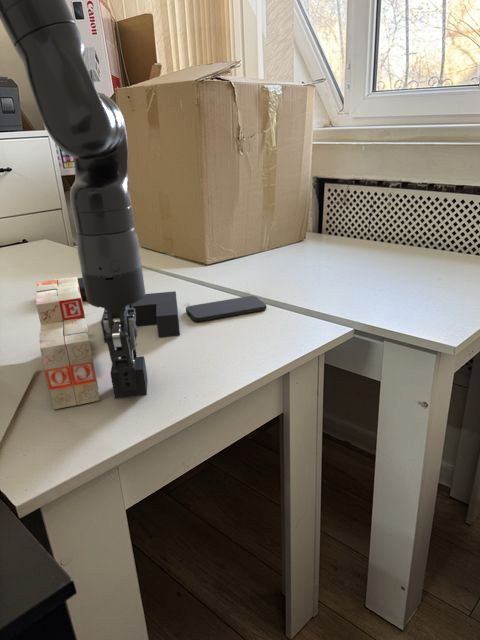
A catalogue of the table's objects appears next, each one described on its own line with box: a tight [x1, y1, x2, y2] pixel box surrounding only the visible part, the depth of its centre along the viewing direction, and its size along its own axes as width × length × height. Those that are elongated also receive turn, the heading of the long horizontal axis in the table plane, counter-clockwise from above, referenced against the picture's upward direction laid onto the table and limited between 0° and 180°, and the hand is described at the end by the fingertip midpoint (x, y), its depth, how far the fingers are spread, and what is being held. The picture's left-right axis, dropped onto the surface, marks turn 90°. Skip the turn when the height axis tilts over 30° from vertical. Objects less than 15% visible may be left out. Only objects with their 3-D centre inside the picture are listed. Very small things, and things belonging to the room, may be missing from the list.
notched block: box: [100, 290, 181, 344], centre depth 94 cm, size 13×13×4 cm
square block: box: [110, 355, 149, 399], centre depth 72 cm, size 4×4×4 cm
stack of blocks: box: [35, 276, 101, 410], centre depth 75 cm, size 21×6×12 cm, turn 21°
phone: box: [185, 295, 267, 322], centre depth 100 cm, size 7×1×15 cm
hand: (130, 381), depth 72 cm, fingers closed on square block, 4 cm apart
